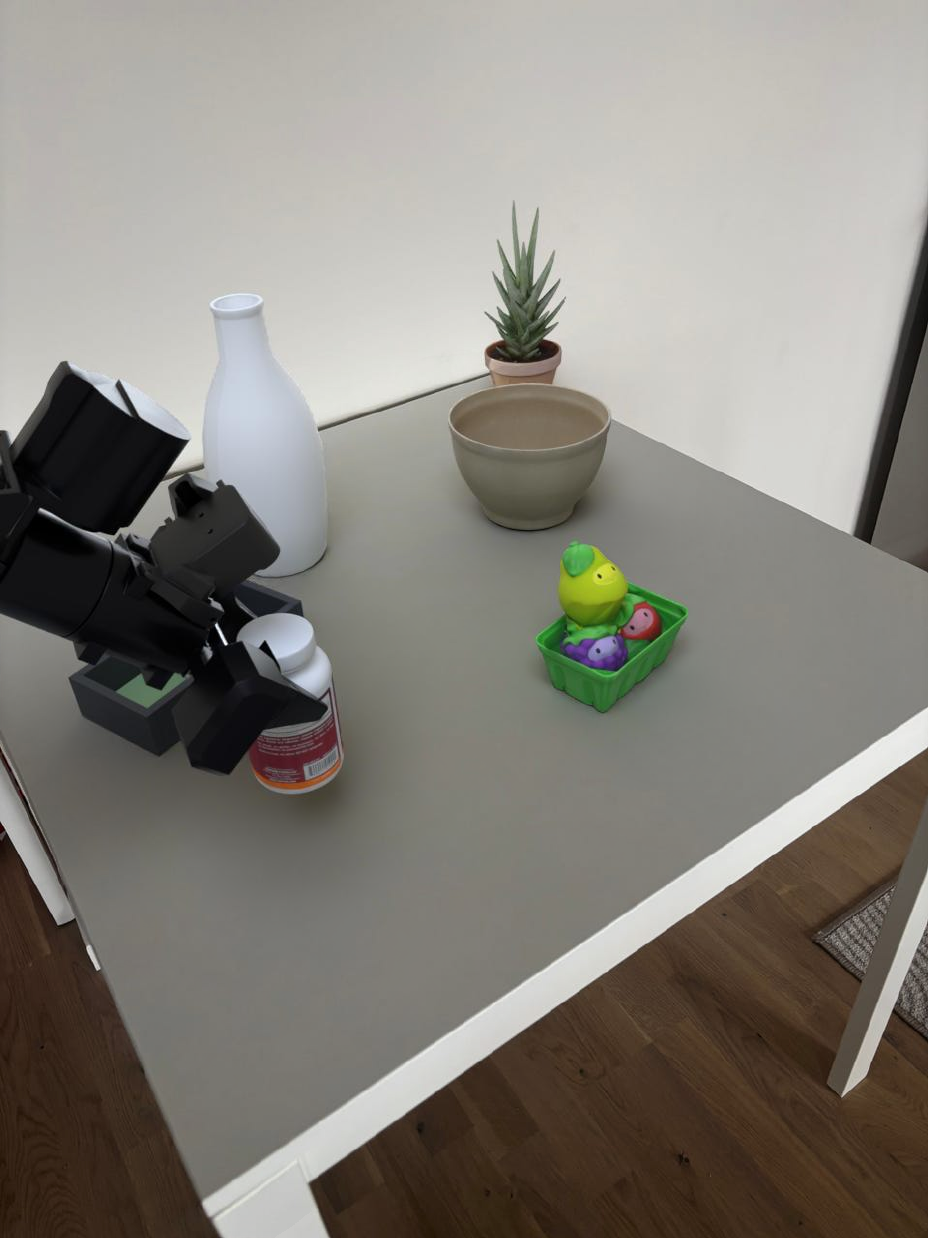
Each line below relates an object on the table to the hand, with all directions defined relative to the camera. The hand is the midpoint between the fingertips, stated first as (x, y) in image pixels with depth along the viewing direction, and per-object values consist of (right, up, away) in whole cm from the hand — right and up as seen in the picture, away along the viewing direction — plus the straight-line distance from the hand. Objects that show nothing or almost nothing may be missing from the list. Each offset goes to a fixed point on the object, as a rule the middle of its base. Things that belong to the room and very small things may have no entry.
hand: (306, 683), depth 62 cm
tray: (-12, -1, +21) cm, 24 cm away
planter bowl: (+17, +16, +41) cm, 47 cm away
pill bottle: (-1, -6, +4) cm, 7 cm away
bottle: (-8, +10, +36) cm, 38 cm away
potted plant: (+17, +31, +62) cm, 72 cm away
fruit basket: (+22, 0, +19) cm, 29 cm away
